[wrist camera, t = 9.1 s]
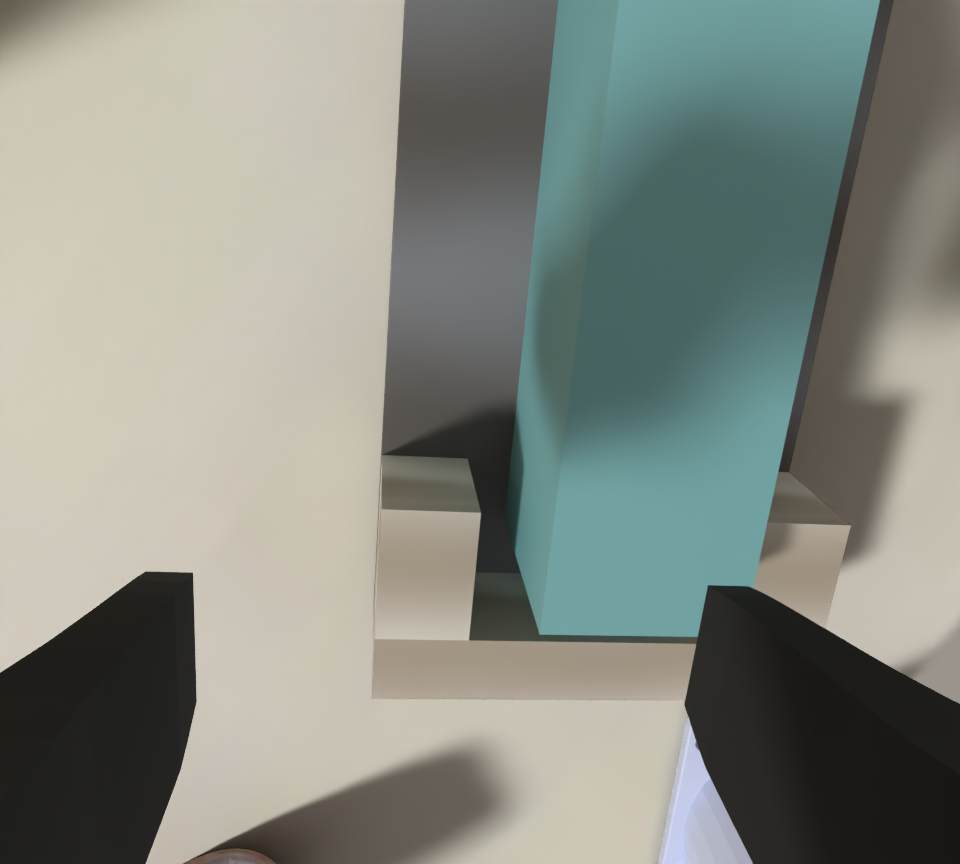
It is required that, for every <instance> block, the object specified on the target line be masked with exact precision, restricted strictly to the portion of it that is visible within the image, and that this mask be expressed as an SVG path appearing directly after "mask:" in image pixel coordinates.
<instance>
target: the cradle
mask: <svg viewBox="0 0 960 864" xmlns="http://www.w3.org/2000/svg"><path fill="white" fill-rule="evenodd" d="M892 4H893V0H880V3H879V7H878V12H877V16H876V21H875V26H874V30H873V35H872V40H871V44H870V49H869V54H868V58H867V63H866V67H865V72H864V77H863V81H862V86H861V91H860V95H859V100H858V105H857V109H856V114H855V118H854V123H853V128H852V132H851V137H850V142H849V146H848V151H847V156H846V160H845V165H844V169H843V174H842V179H841V183H840V188H839V193H838V197H837V202H836V207H835V211H834V216H833V220H832V225H831V230H830V234H829V239H828V244H827V248H826V253H825V258H824V262H823V267H822V272H821V276H820V281H819V285H818V290H817V295H816V299H815V304H814V309H813V313H812V318H811V323H810V327H809V332H808V336H807V341H806V346H805V350H804V355H803V360H802V364H801V369H800V374H799V378H798V383H797V387H796V392H795V397H794V401H793V406H792V411H791V415H790V420H789V425H788V429H787V434H786V438H785V443H784V448H783V452H782V457H781V462H780V466H779V471H778V476H777V480H776V485H775V489H774V494H773V499H772V503H771V508H770V513H769V517H768V522H767V527H766V531H765V536H764V540H763V545H762V550H761V554H760V559H759V564H758V568H757V573H756V578H755V582H754V587H753V589H756V590H758V591H760V592H762V593H764V594H766V595H768V596H770V597H772V598H773V599H775V600H777V601H779V602H781V603H782V604H784V605H786V606H788V607H789V608H791V609H793V610H795V611H796V612H798V613H800V614H801V615H803V616H805V617H806V618H808V619H810V620H811V621H813V622H815V623H816V624H818V625H820V626H821V627H823V628H825V626H826V622H827V618H828V614H829V611H830V607H831V603H832V599H833V595H834V591H835V587H836V583H837V579H838V575H839V571H840V567H841V563H842V559H843V555H844V551H845V547H846V543H847V539H848V536H849V532H850V528H851V525H850V524H849V523H847V522H846V521H845V520H844V519H843V518H842V517H840V516H839V515H838V514H837V513H836V512H835V511H833V510H832V509H831V508H830V507H829V506H828V505H826V504H825V503H824V502H823V501H822V500H821V499H819V498H818V497H817V496H816V495H815V494H814V493H812V492H811V491H810V490H809V489H808V488H807V487H805V486H804V485H803V484H802V483H801V482H800V481H798V480H797V479H796V478H795V477H794V476H792V475H791V474H790V473H789V469H790V464H791V460H792V455H793V451H794V446H795V442H796V437H797V433H798V428H799V424H800V419H801V415H802V410H803V406H804V401H805V397H806V392H807V388H808V383H809V379H810V374H811V370H812V365H813V361H814V356H815V352H816V347H817V343H818V338H819V334H820V329H821V325H822V320H823V315H824V311H825V306H826V302H827V297H828V293H829V288H830V284H831V279H832V275H833V270H834V266H835V261H836V257H837V252H838V248H839V243H840V239H841V234H842V230H843V225H844V221H845V216H846V212H847V207H848V203H849V198H850V194H851V189H852V185H853V180H854V176H855V171H856V167H857V162H858V158H859V153H860V149H861V144H862V140H863V135H864V131H865V126H866V122H867V117H868V113H869V108H870V104H871V99H872V94H873V90H874V85H875V81H876V76H877V72H878V67H879V63H880V58H881V54H882V49H883V45H884V40H885V36H886V31H887V27H888V22H889V18H890V13H891V9H892ZM557 8H558V0H405V6H404V26H403V45H402V65H401V84H400V103H399V123H398V142H397V161H396V181H395V200H394V219H393V239H392V258H391V278H390V297H389V316H388V336H387V355H386V374H385V394H384V413H383V433H382V452H381V471H380V491H379V510H378V529H377V549H376V568H375V587H374V613H373V657H372V699H498V700H662V701H685V699H686V694H687V689H688V684H689V679H690V674H691V668H692V663H693V658H694V653H695V648H696V643H697V638H698V637H669V636H600V635H540V634H539V631H538V627H537V624H536V621H535V618H534V614H533V611H532V608H531V604H530V601H529V598H528V595H527V591H526V588H525V585H524V582H523V578H522V575H521V572H520V568H519V565H518V562H517V559H516V555H515V552H514V549H513V546H512V542H511V539H510V536H509V532H508V529H507V526H506V523H505V510H506V501H507V491H508V481H509V472H510V462H511V452H512V443H513V433H514V423H515V414H516V404H517V394H518V385H519V375H520V365H521V356H522V346H523V336H524V327H525V317H526V308H527V298H528V288H529V279H530V269H531V259H532V250H533V240H534V230H535V221H536V211H537V201H538V192H539V182H540V172H541V163H542V153H543V143H544V134H545V124H546V115H547V105H548V95H549V86H550V76H551V66H552V57H553V47H554V37H555V28H556V18H557Z"/></svg>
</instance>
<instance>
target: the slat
mask: <svg viewBox="0 0 960 864" xmlns="http://www.w3.org/2000/svg"><path fill="white" fill-rule="evenodd" d="M879 3H880V0H558V8H557V18H556V28H555V37H554V47H553V57H552V66H551V76H550V86H549V95H548V105H547V115H546V124H545V134H544V143H543V153H542V163H541V172H540V182H539V192H538V201H537V211H536V221H535V230H534V240H533V250H532V259H531V269H530V279H529V288H528V298H527V308H526V317H525V327H524V336H523V346H522V356H521V365H520V375H519V385H518V394H517V404H516V414H515V423H514V433H513V443H512V452H511V462H510V472H509V481H508V491H507V501H506V510H505V523H506V526H507V529H508V532H509V536H510V539H511V542H512V546H513V549H514V552H515V555H516V559H517V562H518V565H519V568H520V572H521V575H522V578H523V582H524V585H525V588H526V591H527V595H528V598H529V601H530V604H531V608H532V611H533V614H534V618H535V621H536V624H537V627H538V631H539V634H540V635H600V636H669V637H698V633H699V628H700V623H701V618H702V613H703V608H704V603H705V597H706V592H707V587H708V585H718V586H749V587H751V588H753V587H754V582H755V578H756V573H757V568H758V564H759V559H760V554H761V550H762V545H763V540H764V536H765V531H766V527H767V522H768V517H769V513H770V508H771V503H772V499H773V494H774V489H775V485H776V480H777V476H778V471H779V466H780V462H781V457H782V452H783V448H784V443H785V438H786V434H787V429H788V425H789V420H790V415H791V411H792V406H793V401H794V397H795V392H796V387H797V383H798V378H799V374H800V369H801V364H802V360H803V355H804V350H805V346H806V341H807V336H808V332H809V327H810V323H811V318H812V313H813V309H814V304H815V299H816V295H817V290H818V285H819V281H820V276H821V272H822V267H823V262H824V258H825V253H826V248H827V244H828V239H829V234H830V230H831V225H832V220H833V216H834V211H835V207H836V202H837V197H838V193H839V188H840V183H841V179H842V174H843V169H844V165H845V160H846V156H847V151H848V146H849V142H850V137H851V132H852V128H853V123H854V118H855V114H856V109H857V105H858V100H859V95H860V91H861V86H862V81H863V77H864V72H865V67H866V63H867V58H868V54H869V49H870V44H871V40H872V35H873V30H874V26H875V21H876V16H877V12H878V7H879Z"/></svg>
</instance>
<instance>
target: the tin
mask: <svg viewBox="0 0 960 864" xmlns="http://www.w3.org/2000/svg"><path fill="white" fill-rule="evenodd" d="M184 864H276V863H275V862H274V861H272V860H271V859H270V858H268V857H267V856H265V855H263V854H261V853H258V852H255V851H252V850H248V849H225V850H219V851H215V852H211V853H208V854H205V855H202V856H199V857H196V858H194V859H192V860H190V861H188V862H186V863H184Z"/></svg>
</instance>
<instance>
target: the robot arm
mask: <svg viewBox="0 0 960 864" xmlns="http://www.w3.org/2000/svg"><path fill="white" fill-rule="evenodd" d="M195 706H196V669H195V633H194V596H193V573H180V572H144V573H143V574H141V575H140V576H138V577H137V578H135V579H134V580H132V581H131V582H130V583H128V584H127V585H125V586H124V587H123V588H121V589H120V590H119V591H117V592H116V593H115V594H113V595H112V596H111V597H109V598H108V599H107V600H105V601H104V602H103V603H101V604H100V605H99V606H97V607H96V608H94V609H93V610H92V611H90V612H89V613H88V614H86V615H85V616H83V617H82V618H81V619H79V620H78V621H76V622H75V623H74V624H72V625H71V626H70V627H68V628H67V629H65V630H64V631H63V632H61V633H60V634H58V635H57V636H56V637H54V638H53V639H51V640H50V641H49V642H47V643H46V644H44V645H43V646H41V647H39V648H38V649H36V650H35V651H33V652H32V653H30V654H29V655H27V656H26V657H24V658H22V659H21V660H19V661H18V662H16V663H15V664H13V665H12V666H10V667H9V668H7V669H5V670H4V671H2V672H1V673H0V864H145V863H146V861H147V858H148V855H149V853H150V850H151V848H152V845H153V842H154V840H155V837H156V834H157V832H158V829H159V826H160V824H161V821H162V818H163V816H164V813H165V810H166V808H167V805H168V802H169V800H170V797H171V794H172V791H173V789H174V786H175V783H176V781H177V778H178V775H179V772H180V769H181V766H182V762H183V757H184V753H185V749H186V745H187V741H188V737H189V732H190V728H191V723H192V719H193V715H194V710H195ZM685 708H686V711H687V714H688V718H687V720H686V724H685V729H684V734H683V739H682V744H681V750H680V755H679V760H678V765H677V770H676V775H675V780H674V785H673V790H672V795H671V800H670V805H669V810H668V815H667V820H666V825H665V830H664V835H663V840H662V845H661V850H660V855H659V860H658V864H960V704H959V703H957V702H955V701H952V700H951V699H949V698H947V697H945V696H943V695H941V694H939V693H937V692H935V691H934V690H932V689H930V688H928V687H926V686H924V685H922V684H920V683H919V682H917V681H915V680H913V679H911V678H909V677H907V676H906V675H904V674H902V673H900V672H898V671H896V670H895V669H893V668H891V667H889V666H888V665H886V664H884V663H882V662H881V661H879V660H877V659H875V658H874V657H872V656H870V655H868V654H867V653H865V652H863V651H862V650H860V649H858V648H857V647H855V646H853V645H851V644H850V643H848V642H846V641H845V640H843V639H841V638H840V637H838V636H836V635H835V634H833V633H831V632H830V631H828V630H826V629H825V628H823V627H821V626H820V625H818V624H816V623H815V622H813V621H811V620H810V619H808V618H806V617H805V616H803V615H801V614H800V613H798V612H796V611H795V610H793V609H791V608H789V607H788V606H786V605H784V604H782V603H781V602H779V601H777V600H775V599H773V598H772V597H770V596H768V595H766V594H764V593H762V592H760V591H758V590H756V589H753V588H751V587H749V586H718V585H708V587H707V592H706V597H705V603H704V608H703V613H702V618H701V623H700V628H699V633H698V638H697V643H696V648H695V653H694V658H693V663H692V668H691V674H690V679H689V684H688V689H687V694H686V699H685Z"/></svg>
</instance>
